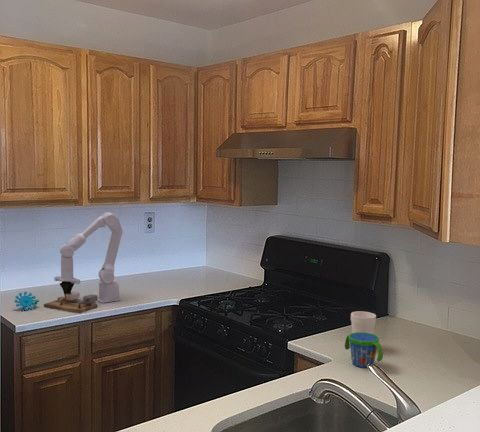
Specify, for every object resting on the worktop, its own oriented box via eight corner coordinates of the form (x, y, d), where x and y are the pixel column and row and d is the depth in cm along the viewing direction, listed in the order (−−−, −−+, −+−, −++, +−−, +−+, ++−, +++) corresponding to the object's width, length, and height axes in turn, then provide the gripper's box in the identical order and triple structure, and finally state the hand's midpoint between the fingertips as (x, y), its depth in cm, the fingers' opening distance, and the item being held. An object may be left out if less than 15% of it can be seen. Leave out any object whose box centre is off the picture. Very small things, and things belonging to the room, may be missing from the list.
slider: (73, 298, 264) (73, 291, 263) (79, 299, 262) (79, 292, 262) (56, 303, 254) (56, 296, 253) (63, 305, 252) (63, 297, 252)
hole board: (61, 301, 266) (61, 297, 266) (97, 307, 257) (97, 303, 257) (43, 307, 255) (43, 303, 255) (80, 313, 246) (80, 309, 246)
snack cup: (336, 359, 195) (337, 332, 194) (358, 354, 201) (359, 328, 200) (367, 374, 182) (368, 345, 181) (389, 369, 187) (391, 340, 186)
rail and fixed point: (63, 298, 266) (63, 290, 266) (97, 303, 258) (97, 295, 257) (46, 303, 256) (46, 295, 256) (81, 309, 248) (81, 300, 247)
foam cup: (358, 341, 216) (360, 310, 214) (379, 347, 209) (380, 315, 208) (344, 346, 209) (346, 314, 208) (365, 353, 202) (366, 319, 201)
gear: (15, 309, 245) (14, 290, 251) (12, 315, 249) (12, 297, 255) (40, 309, 251) (39, 291, 257) (37, 316, 255) (36, 297, 260)
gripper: (49, 269, 260) (50, 296, 261) (72, 272, 254) (73, 300, 255) (60, 266, 266) (60, 293, 268) (83, 269, 260) (83, 297, 262)
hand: (67, 296), depth 262 cm, fingers closed
